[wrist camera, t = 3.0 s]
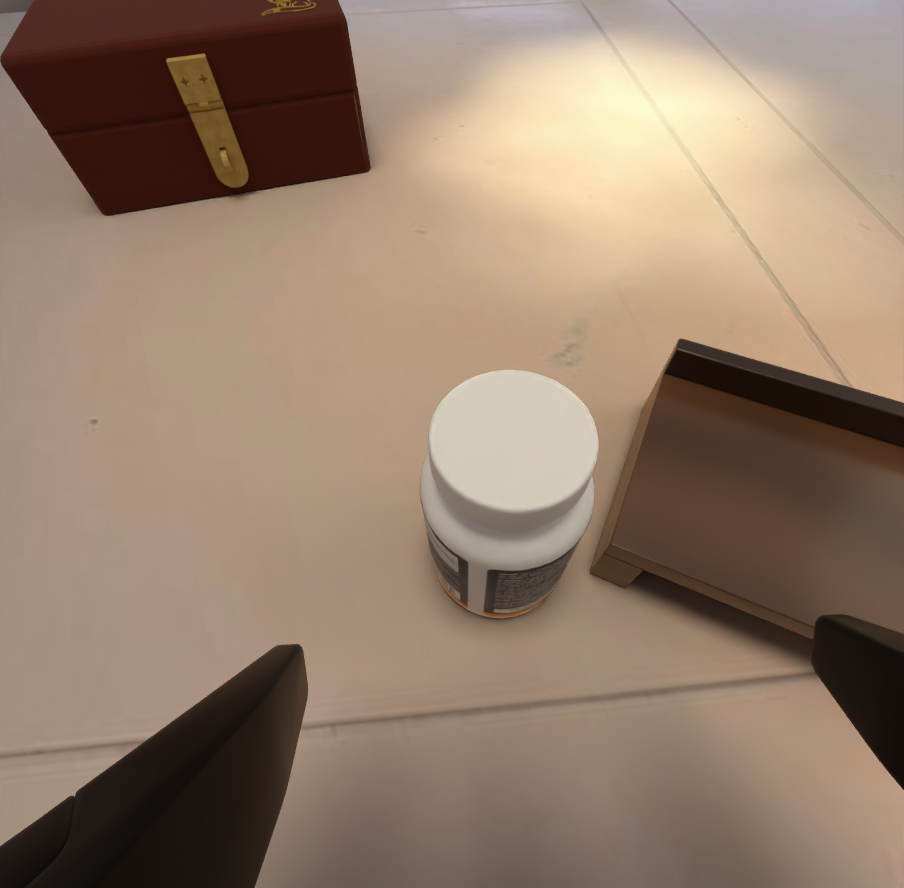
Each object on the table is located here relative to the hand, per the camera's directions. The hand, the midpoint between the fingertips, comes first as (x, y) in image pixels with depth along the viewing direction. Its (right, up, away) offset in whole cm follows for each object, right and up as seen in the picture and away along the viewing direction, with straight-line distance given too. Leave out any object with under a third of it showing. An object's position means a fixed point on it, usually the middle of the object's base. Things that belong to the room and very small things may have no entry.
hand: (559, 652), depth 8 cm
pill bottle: (0, -1, +13) cm, 13 cm away
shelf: (+13, -1, +13) cm, 18 cm away
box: (-20, +29, +33) cm, 48 cm away
